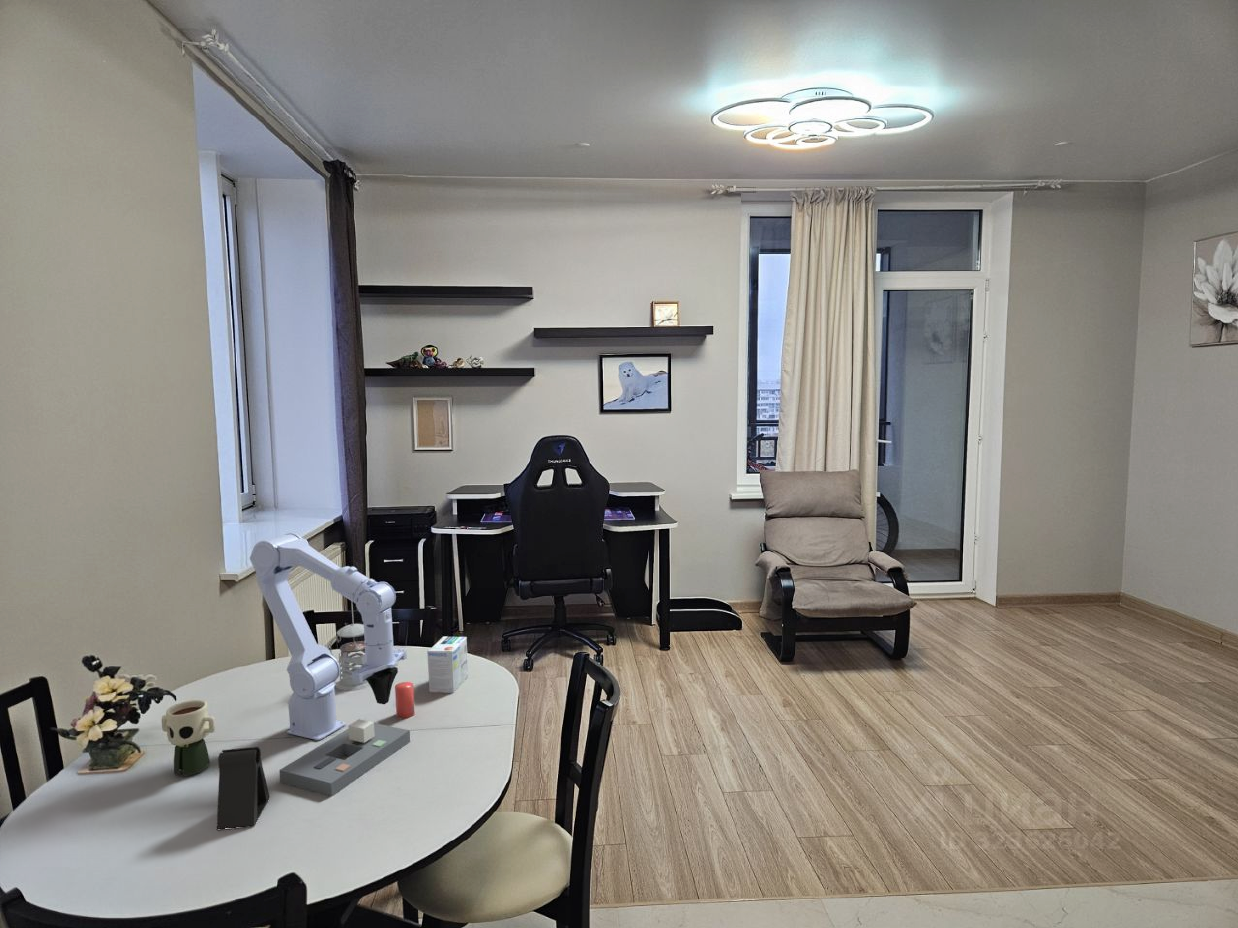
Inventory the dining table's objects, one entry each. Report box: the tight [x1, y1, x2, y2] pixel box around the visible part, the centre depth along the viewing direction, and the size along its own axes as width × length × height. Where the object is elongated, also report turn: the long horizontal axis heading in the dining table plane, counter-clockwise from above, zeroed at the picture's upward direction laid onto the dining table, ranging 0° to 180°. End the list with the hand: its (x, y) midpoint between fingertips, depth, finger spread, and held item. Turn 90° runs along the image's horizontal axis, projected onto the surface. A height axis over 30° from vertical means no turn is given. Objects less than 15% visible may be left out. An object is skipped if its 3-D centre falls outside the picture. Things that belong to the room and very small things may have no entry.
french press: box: [327, 600, 371, 691], centre depth 183 cm, size 10×12×25 cm
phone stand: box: [216, 746, 271, 830], centre depth 127 cm, size 9×6×12 cm, turn 10°
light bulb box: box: [427, 636, 469, 694], centre depth 182 cm, size 11×7×11 cm, turn 172°
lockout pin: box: [394, 681, 416, 720], centre depth 165 cm, size 4×4×7 cm
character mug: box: [161, 699, 216, 776], centre depth 142 cm, size 11×7×13 cm, turn 85°
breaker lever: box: [347, 718, 375, 743], centre depth 148 cm, size 4×3×3 cm
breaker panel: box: [279, 722, 411, 797], centre depth 145 cm, size 13×22×3 cm, turn 157°
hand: (382, 702), depth 154 cm, fingers closed
